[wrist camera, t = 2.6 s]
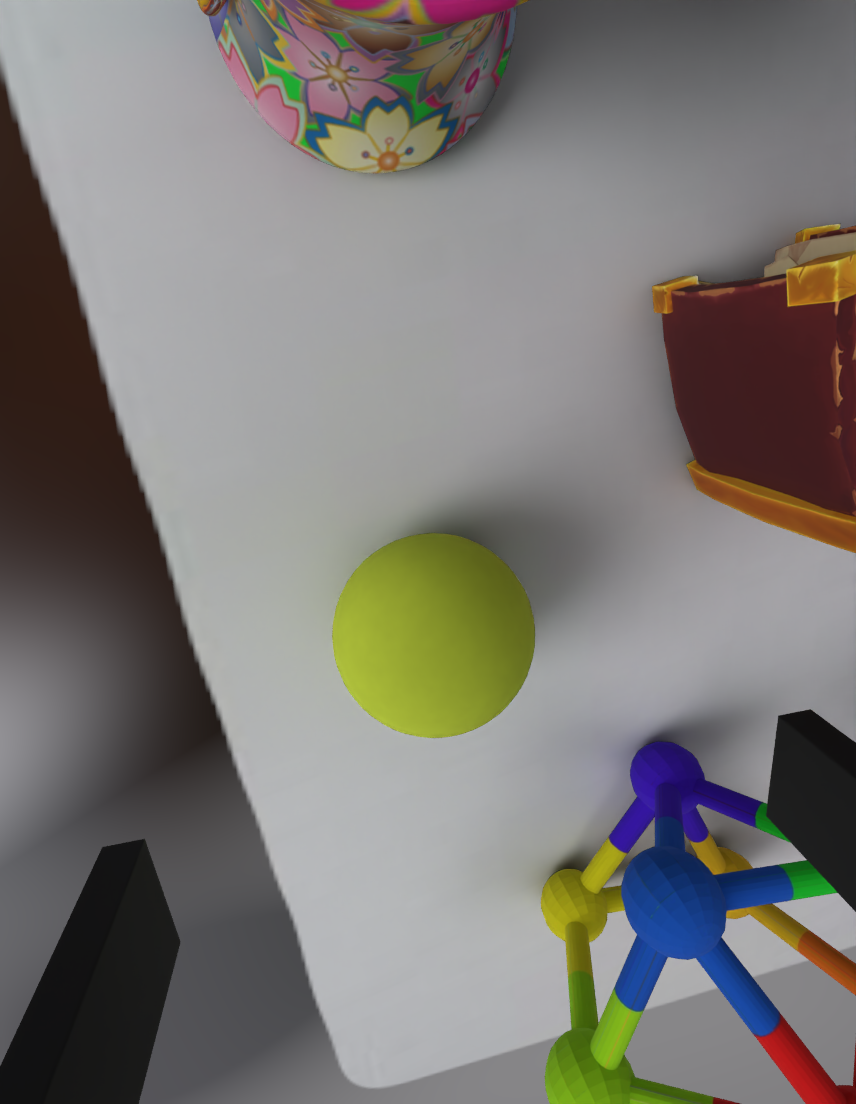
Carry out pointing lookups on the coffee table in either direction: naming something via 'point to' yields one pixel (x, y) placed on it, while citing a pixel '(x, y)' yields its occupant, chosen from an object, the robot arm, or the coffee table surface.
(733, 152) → the coffee table surface
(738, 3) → the coffee table surface
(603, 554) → the coffee table surface
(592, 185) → the coffee table surface
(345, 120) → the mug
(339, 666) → the ball
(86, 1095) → the robot arm
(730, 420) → the book monster
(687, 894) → the educational toy
